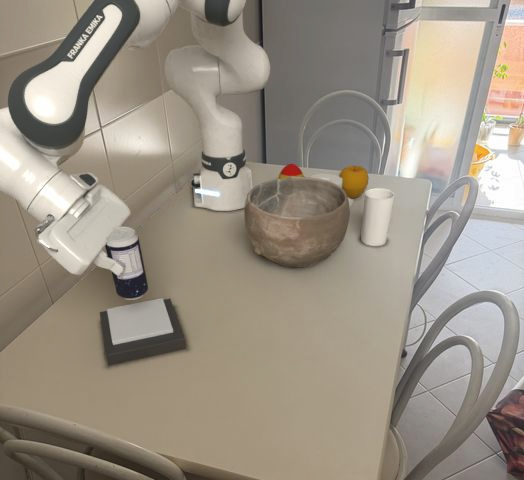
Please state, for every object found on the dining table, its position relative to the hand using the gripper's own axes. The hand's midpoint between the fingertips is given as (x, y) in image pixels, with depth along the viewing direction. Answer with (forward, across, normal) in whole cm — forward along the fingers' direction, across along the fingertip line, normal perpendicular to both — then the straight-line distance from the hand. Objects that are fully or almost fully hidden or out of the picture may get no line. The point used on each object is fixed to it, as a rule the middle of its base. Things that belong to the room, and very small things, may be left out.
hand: (129, 260), depth 85 cm
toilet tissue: (+34, +58, -12) cm, 69 cm away
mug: (+43, +44, -21) cm, 65 cm away
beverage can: (+4, 0, +6) cm, 7 cm away
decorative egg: (+27, +66, -4) cm, 71 cm away
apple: (+39, +70, -16) cm, 81 cm away
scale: (+11, -1, +11) cm, 16 cm away
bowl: (+30, +34, -7) cm, 45 cm away
